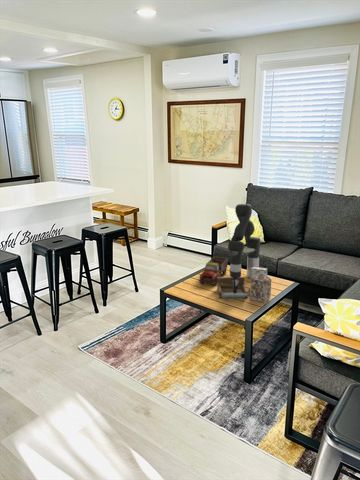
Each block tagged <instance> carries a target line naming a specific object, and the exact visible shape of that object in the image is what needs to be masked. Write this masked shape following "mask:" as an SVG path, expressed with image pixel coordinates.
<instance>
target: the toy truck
mask: <svg viewBox="0 0 360 480" xmlns="http://www.w3.org/2000/svg"><path fill="white" fill-rule="evenodd" d="M228 259H229V258H228V257H223V256H212V258H211V259H210V260H208V262H207V263H206V264H205V268H203V269H202V272H201V273H200V274H199V282H200V284H211V285H213V286H217V280H218V277H221V274H222V276H226V275H227V270H228Z"/></svg>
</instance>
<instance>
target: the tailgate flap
mask: <svg viewBox="0 0 360 480" xmlns="http://www.w3.org/2000/svg"><path fill="white" fill-rule="evenodd" d="M246 296H247V293H224V294H223V296H222V298H232V299H246V298H245V297H246Z"/></svg>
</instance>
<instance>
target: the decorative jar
mask: <svg viewBox="0 0 360 480" xmlns="http://www.w3.org/2000/svg"><path fill="white" fill-rule="evenodd" d="M249 288H250V289H249V300H252V301H256V302H259V303H266V302H267V301H268V300H269V299H270V298H271V295H272V279H271V278H270V276H268V275H267V276H266V275H264V274H258V275H255V276H253V278H252V280H251V279H250V287H249Z"/></svg>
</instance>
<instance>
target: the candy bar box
mask: <svg viewBox="0 0 360 480" xmlns="http://www.w3.org/2000/svg"><path fill="white" fill-rule="evenodd" d="M258 274H264V275H266V276H268V268H265V267H260V266H259V267H252V268H251V278H250V281H251V280H252V278H253V276H255V275H258Z"/></svg>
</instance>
